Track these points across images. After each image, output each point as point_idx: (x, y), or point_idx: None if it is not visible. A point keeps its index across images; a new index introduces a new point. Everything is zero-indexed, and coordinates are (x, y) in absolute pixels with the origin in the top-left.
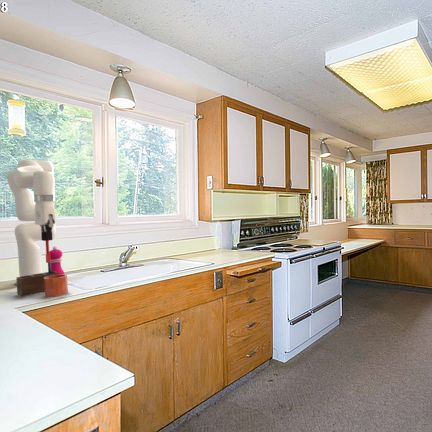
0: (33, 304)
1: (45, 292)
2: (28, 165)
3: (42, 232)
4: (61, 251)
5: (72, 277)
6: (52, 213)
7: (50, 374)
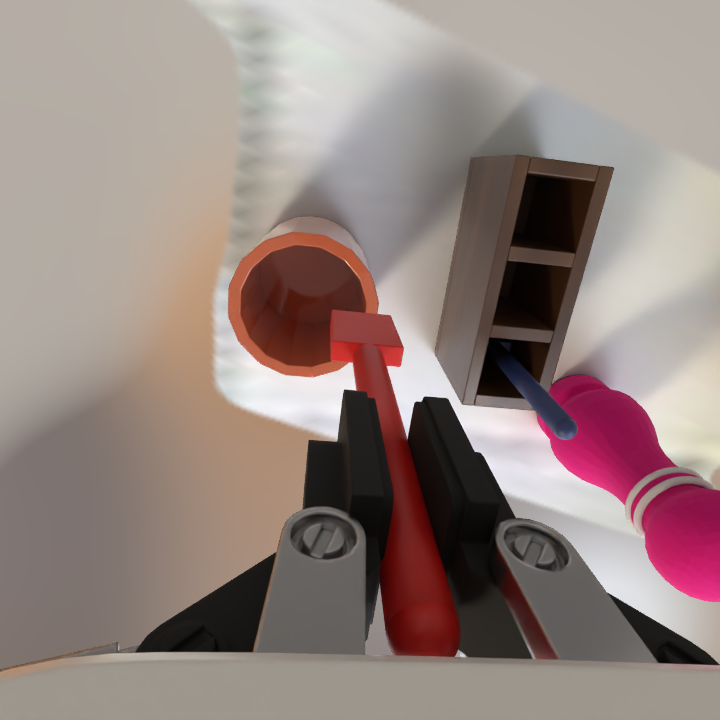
0: (245, 110)
1: (311, 220)
2: None
3: (451, 498)
4: (688, 594)
5: None
6: None
7: None
